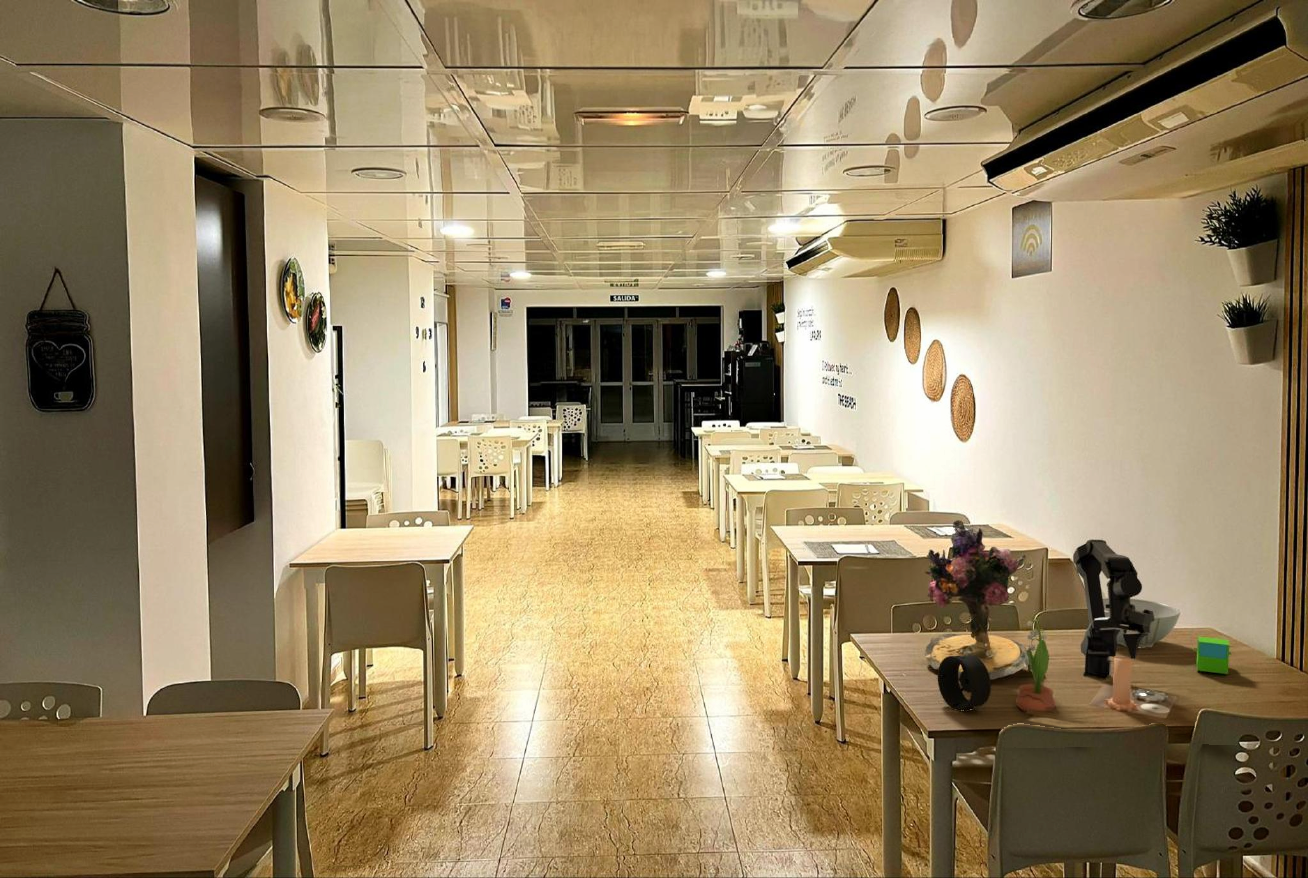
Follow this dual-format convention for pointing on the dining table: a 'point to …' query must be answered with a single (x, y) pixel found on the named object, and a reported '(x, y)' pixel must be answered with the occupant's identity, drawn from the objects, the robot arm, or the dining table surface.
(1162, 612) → the decorative bowl
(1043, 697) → the potted flower
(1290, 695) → the dining table surface
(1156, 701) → the gear
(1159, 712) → the gear board
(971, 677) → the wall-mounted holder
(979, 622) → the bouquet
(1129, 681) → the gear spool
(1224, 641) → the blue-striped green cube
